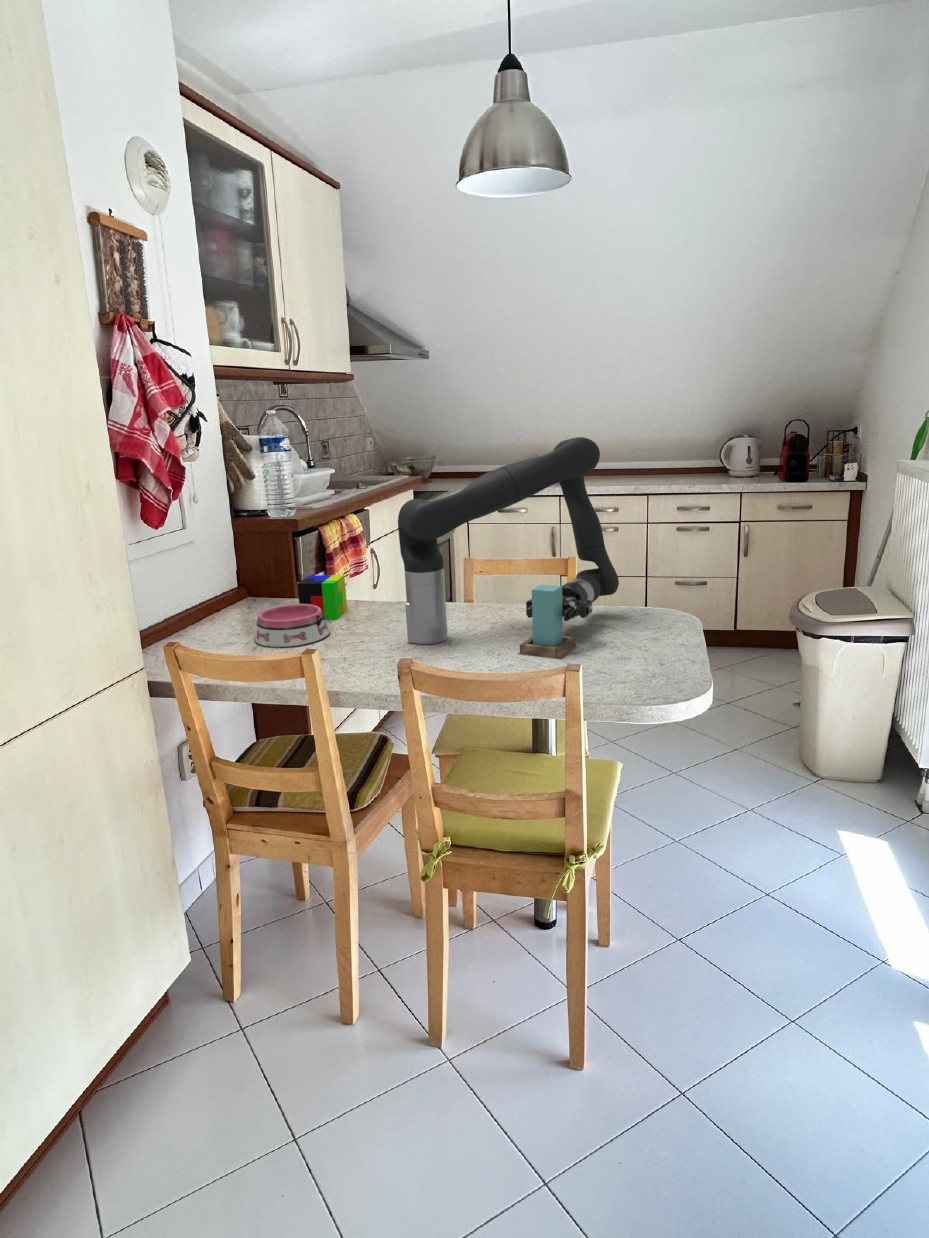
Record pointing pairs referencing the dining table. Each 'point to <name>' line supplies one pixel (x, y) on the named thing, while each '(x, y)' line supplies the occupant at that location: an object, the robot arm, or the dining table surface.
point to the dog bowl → (291, 626)
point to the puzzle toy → (324, 594)
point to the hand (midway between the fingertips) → (546, 615)
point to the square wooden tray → (548, 648)
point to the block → (547, 615)
